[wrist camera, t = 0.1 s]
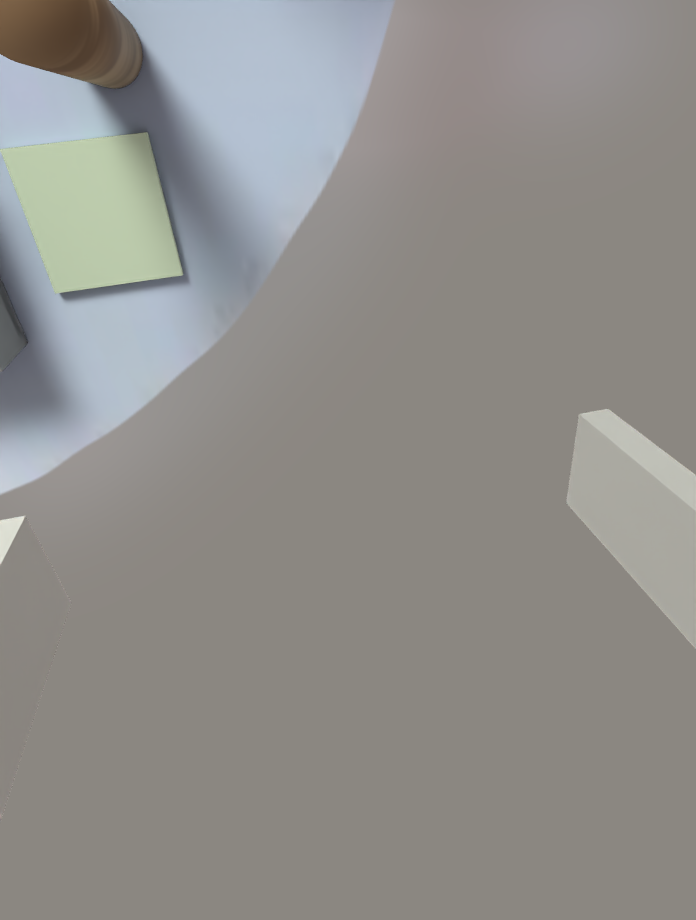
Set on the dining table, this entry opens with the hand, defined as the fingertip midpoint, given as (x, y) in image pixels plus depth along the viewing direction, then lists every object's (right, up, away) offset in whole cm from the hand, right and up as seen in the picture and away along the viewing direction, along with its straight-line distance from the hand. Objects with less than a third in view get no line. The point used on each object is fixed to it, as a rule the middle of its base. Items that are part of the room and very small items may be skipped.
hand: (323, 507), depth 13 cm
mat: (-14, +16, +20) cm, 30 cm away
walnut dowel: (-12, +23, +16) cm, 31 cm away
